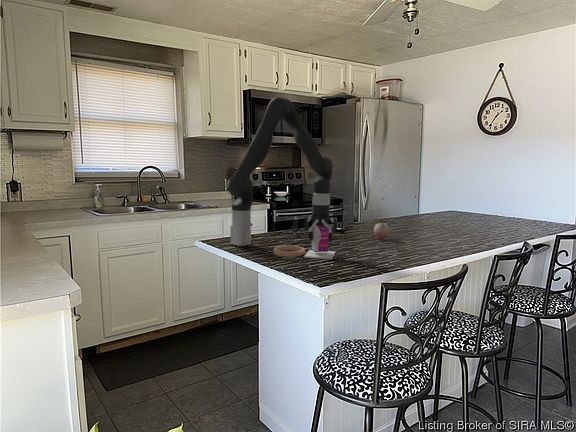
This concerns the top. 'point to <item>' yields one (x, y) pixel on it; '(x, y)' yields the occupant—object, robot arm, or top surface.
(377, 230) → the decorative fruit
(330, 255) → the rubber mat
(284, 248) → the tan faceted ring
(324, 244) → the supplement box
